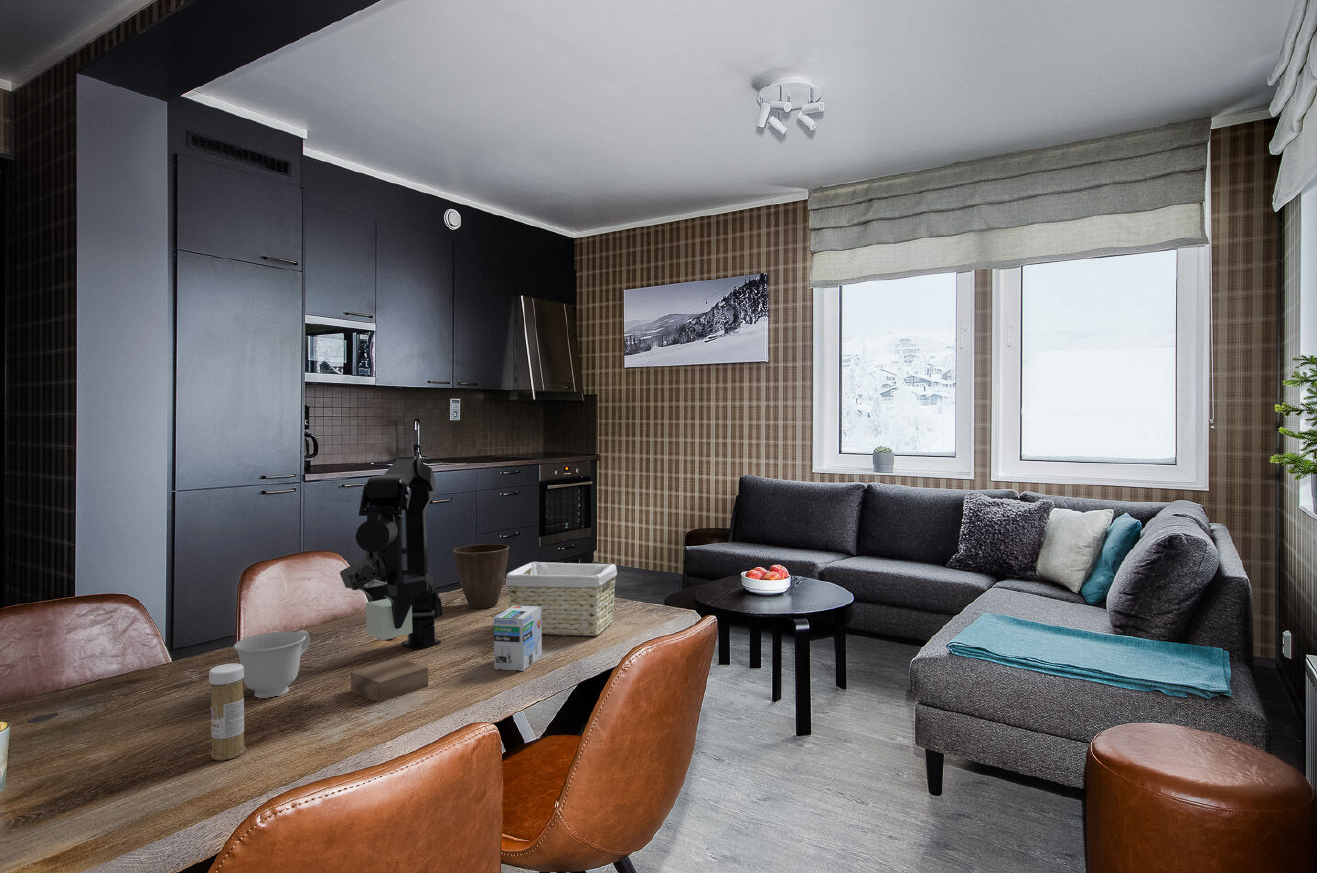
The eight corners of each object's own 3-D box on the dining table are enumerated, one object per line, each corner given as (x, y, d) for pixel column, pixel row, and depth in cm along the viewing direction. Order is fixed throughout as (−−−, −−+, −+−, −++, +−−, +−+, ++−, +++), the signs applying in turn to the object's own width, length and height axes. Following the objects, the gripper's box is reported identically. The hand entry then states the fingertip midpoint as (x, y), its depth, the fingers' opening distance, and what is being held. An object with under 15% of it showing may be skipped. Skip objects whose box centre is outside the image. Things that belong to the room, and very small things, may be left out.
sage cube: (366, 634, 137) (365, 603, 137) (396, 627, 142) (395, 597, 142) (382, 640, 133) (381, 607, 133) (412, 632, 138) (411, 601, 138)
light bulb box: (524, 672, 146) (523, 618, 146) (492, 670, 147) (491, 617, 147) (543, 655, 157) (542, 605, 156) (513, 653, 158) (512, 604, 158)
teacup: (332, 680, 143) (331, 629, 143) (269, 708, 129) (268, 652, 129) (285, 674, 147) (284, 625, 147) (219, 701, 133) (217, 647, 133)
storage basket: (503, 635, 173) (502, 573, 173) (531, 617, 189) (530, 560, 188) (599, 640, 167) (598, 576, 167) (619, 621, 183) (618, 563, 183)
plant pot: (445, 611, 195) (443, 552, 195) (468, 598, 210) (467, 543, 209) (497, 613, 192) (496, 553, 192) (517, 599, 207) (516, 544, 207)
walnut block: (351, 692, 137) (350, 671, 137) (398, 678, 145) (398, 658, 145) (380, 704, 131) (379, 682, 131) (428, 688, 139) (427, 667, 139)
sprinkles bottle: (206, 756, 110) (204, 668, 110) (239, 745, 114) (236, 660, 114) (217, 764, 107) (215, 674, 107) (250, 753, 111) (248, 666, 111)
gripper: (322, 544, 138) (324, 626, 138) (371, 554, 125) (373, 644, 125) (378, 537, 146) (380, 614, 146) (429, 546, 134) (430, 630, 134)
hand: (389, 625), depth 138 cm, fingers closed on sage cube, 6 cm apart
